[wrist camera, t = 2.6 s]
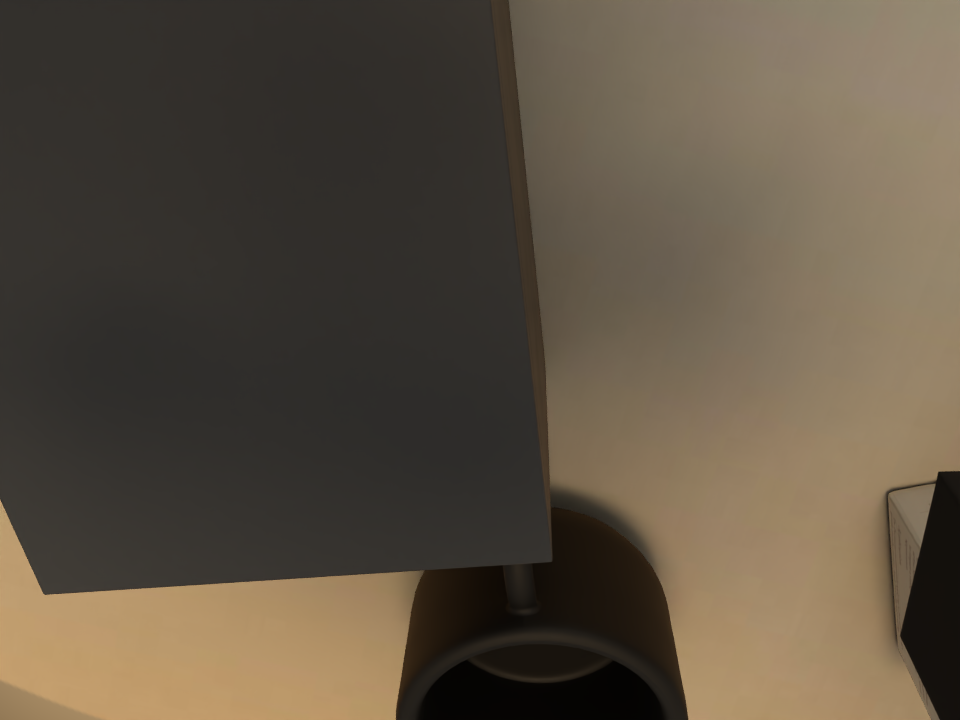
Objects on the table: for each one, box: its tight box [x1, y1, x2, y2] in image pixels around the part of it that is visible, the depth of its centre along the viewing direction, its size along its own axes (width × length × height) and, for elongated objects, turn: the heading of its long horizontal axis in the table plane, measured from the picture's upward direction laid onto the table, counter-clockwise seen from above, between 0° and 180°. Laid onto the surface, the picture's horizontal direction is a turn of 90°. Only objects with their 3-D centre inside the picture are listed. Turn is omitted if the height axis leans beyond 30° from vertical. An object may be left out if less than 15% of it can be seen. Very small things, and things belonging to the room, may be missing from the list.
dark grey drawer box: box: [0, 0, 553, 595], centre depth 23 cm, size 14×13×10 cm
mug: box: [396, 508, 688, 720], centre depth 30 cm, size 12×9×7 cm
